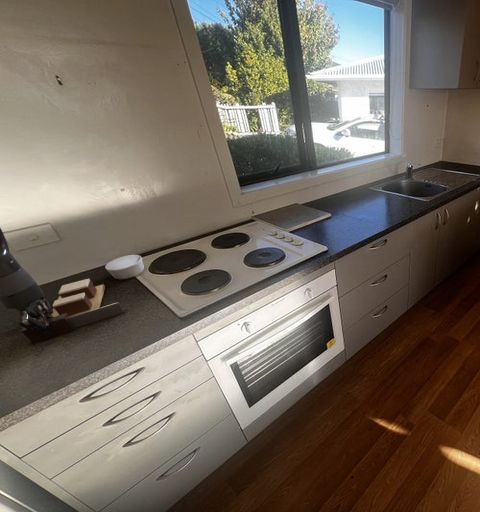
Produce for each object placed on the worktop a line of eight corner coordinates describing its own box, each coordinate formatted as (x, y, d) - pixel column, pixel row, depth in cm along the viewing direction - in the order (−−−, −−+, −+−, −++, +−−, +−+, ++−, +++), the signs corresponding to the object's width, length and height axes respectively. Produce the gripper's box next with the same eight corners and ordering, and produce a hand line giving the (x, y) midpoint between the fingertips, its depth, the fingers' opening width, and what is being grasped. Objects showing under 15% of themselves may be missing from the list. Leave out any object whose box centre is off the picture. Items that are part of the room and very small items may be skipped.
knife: (32, 343, 83) (20, 331, 80) (35, 338, 85) (24, 325, 82) (123, 314, 93) (115, 302, 90) (124, 309, 95) (116, 297, 92)
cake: (67, 305, 96) (58, 293, 93) (70, 297, 100) (62, 285, 97) (94, 297, 99) (86, 285, 96) (96, 289, 103) (89, 278, 100)
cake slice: (61, 318, 90) (52, 306, 88) (64, 312, 93) (54, 300, 90) (91, 309, 94) (82, 297, 91) (92, 304, 96) (84, 292, 93)
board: (46, 329, 88) (44, 327, 87) (61, 299, 101) (59, 296, 100) (97, 314, 93) (95, 311, 93) (105, 286, 106) (103, 284, 106)
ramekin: (141, 277, 111) (135, 266, 108) (106, 284, 108) (99, 272, 105) (150, 263, 120) (145, 252, 117) (118, 268, 117) (112, 257, 114)
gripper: (3, 279, 80) (42, 324, 89) (-19, 306, 70) (28, 354, 79) (41, 270, 84) (75, 314, 93) (24, 294, 74) (65, 342, 83)
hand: (53, 332), depth 86 cm, fingers closed on knife, 2 cm apart
